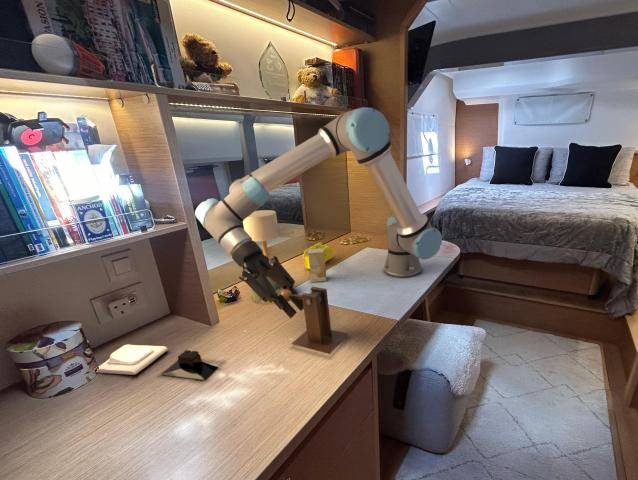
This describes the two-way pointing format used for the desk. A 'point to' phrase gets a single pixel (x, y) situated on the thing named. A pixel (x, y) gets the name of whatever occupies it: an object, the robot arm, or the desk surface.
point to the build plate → (190, 367)
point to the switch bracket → (318, 324)
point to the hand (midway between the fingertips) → (298, 311)
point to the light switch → (131, 359)
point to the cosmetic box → (317, 265)
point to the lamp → (263, 236)
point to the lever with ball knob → (296, 295)
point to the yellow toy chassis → (318, 246)
